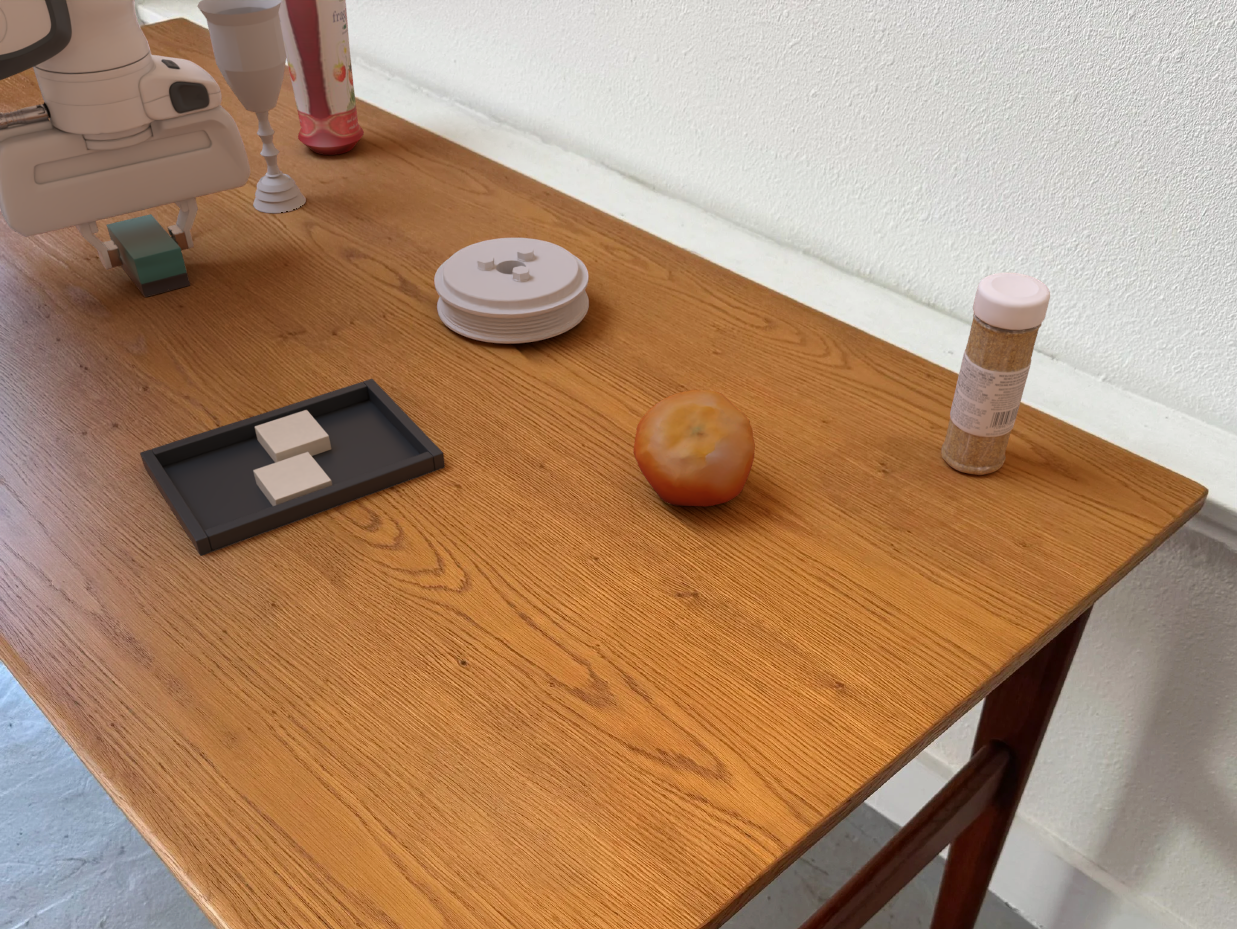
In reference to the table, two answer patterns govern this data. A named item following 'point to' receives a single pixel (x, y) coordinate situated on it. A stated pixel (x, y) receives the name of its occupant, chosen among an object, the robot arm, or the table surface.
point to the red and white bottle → (321, 73)
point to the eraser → (149, 255)
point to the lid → (512, 290)
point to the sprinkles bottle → (994, 370)
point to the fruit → (695, 448)
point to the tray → (226, 456)
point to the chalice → (254, 81)
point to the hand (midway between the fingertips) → (148, 256)
